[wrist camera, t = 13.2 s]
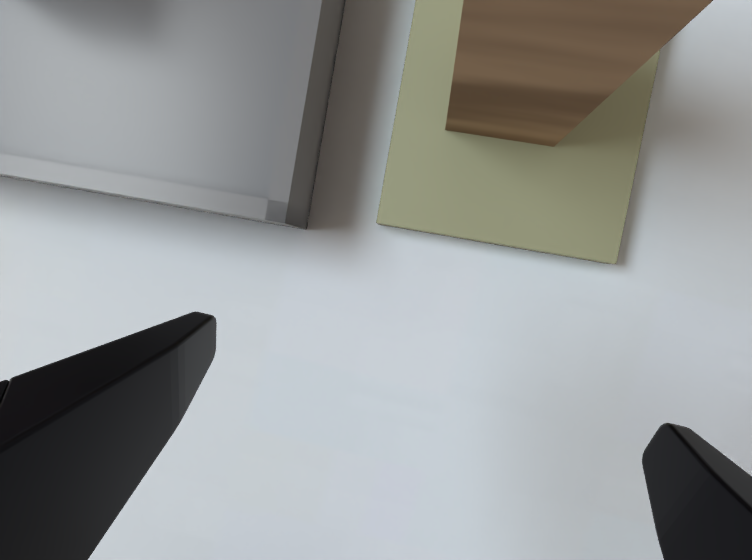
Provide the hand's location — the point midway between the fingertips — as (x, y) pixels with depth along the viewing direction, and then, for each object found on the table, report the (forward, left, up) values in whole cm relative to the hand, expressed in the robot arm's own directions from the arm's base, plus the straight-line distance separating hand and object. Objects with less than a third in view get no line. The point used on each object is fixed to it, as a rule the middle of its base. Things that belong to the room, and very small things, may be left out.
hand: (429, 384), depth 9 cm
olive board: (+10, -2, -11) cm, 15 cm away
